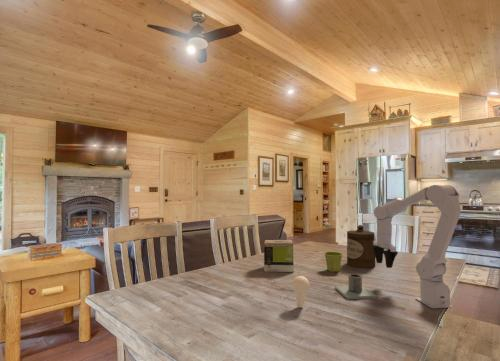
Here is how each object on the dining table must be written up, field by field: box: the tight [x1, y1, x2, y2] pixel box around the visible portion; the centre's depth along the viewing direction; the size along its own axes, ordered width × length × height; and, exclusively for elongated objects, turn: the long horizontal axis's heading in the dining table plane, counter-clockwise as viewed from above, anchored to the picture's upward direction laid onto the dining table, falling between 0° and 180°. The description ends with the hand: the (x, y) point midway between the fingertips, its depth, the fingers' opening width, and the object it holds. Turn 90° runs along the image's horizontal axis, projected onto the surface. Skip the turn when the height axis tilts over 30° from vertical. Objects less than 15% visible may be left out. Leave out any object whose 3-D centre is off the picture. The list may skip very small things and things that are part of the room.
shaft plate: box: [334, 285, 378, 300], centre depth 119 cm, size 12×12×4 cm
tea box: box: [263, 239, 295, 273], centre depth 154 cm, size 15×10×15 cm
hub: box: [348, 273, 363, 293], centre depth 119 cm, size 5×5×6 cm
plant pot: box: [323, 251, 344, 273], centre depth 153 cm, size 9×9×9 cm
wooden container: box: [346, 224, 376, 269], centre depth 165 cm, size 15×15×22 cm
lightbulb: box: [291, 275, 310, 309], centre depth 105 cm, size 6×6×11 cm
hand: (384, 265), depth 127 cm, fingers open, 7 cm apart
